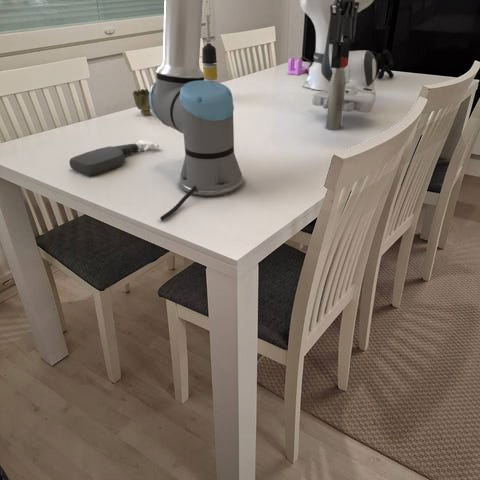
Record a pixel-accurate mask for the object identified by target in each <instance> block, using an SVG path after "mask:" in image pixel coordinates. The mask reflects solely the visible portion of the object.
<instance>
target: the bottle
mask: <svg viewBox="0 0 480 480" xmlns="http://www.w3.org/2000/svg"><path fill="white" fill-rule="evenodd" d="M344 69H345V67H344V68H339V69H338V68H334V71H333V74H332V77H331V80H330V87H329V99H328V109H326V110H327V112H326V122H325V128H326V129H327V130H331V131H332V130H333V131H337V130H341V129H342V122H343V112H344V111H342V110H341V109H342V105H343V103H344V94H345V83H347V81H345V72H344Z"/></svg>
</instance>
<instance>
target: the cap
mask: <svg viewBox="0 0 480 480" xmlns="http://www.w3.org/2000/svg"><path fill="white" fill-rule="evenodd" d="M347 59H348V58H346V57H341V63H340V68H344V67H347V61H348V60H347Z"/></svg>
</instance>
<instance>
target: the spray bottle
mask: <svg viewBox="0 0 480 480" xmlns="http://www.w3.org/2000/svg"><path fill="white" fill-rule="evenodd" d="M159 148H160V145H159V144H158V143H155V142H151V141H148V140H144V139H139V140H138V141H137V142H135V143H129V144H128V143H126V144H122V145H113V146H105V147H100V148H97V149H94V150H90V151H87V152H83V153H81V154H78V155H74V156H73V157H70V159H69V161H68V162H69V167H70V168H71V169H72V170H74V171H75V172H78V173H81V174H83V175H85V176H89V177H90V176H91V177H92V176H95V175H99V174H102V173H105V172H107V171H110V170H113V169H116V168H118V167H120V166H122V165H123V164H124V163H125V158H126V156H127V155H131V154H133V153H138V151H140V150H143V151H144V152H146V151H147V150H149V149H159Z"/></svg>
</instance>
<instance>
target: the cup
mask: <svg viewBox="0 0 480 480" xmlns="http://www.w3.org/2000/svg"><path fill="white" fill-rule="evenodd" d="M149 92H150V90H149V89H147V88H146V89H144V88H142V89H141V90H140V89H137V90H134V91H133V92H132V96H133V100H134V105H135V107H136V108H137V109H138V110H140V113H141V115H143V116H148V115H150V114H151V112H152V110H151V108H150V104H149Z"/></svg>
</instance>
